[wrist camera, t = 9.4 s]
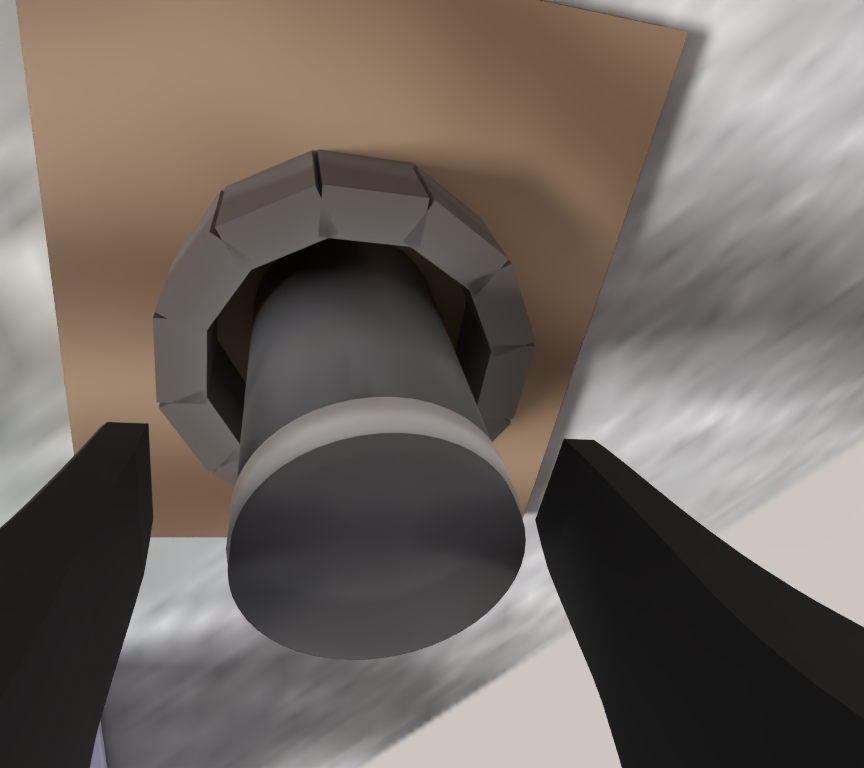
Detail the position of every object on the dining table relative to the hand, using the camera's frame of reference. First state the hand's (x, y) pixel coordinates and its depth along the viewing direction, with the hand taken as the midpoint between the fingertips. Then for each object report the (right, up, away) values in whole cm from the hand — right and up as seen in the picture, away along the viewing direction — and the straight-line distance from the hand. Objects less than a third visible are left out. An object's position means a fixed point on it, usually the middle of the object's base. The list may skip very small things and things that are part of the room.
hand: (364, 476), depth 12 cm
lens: (-1, +3, +5) cm, 6 cm away
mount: (-1, +4, +6) cm, 7 cm away
